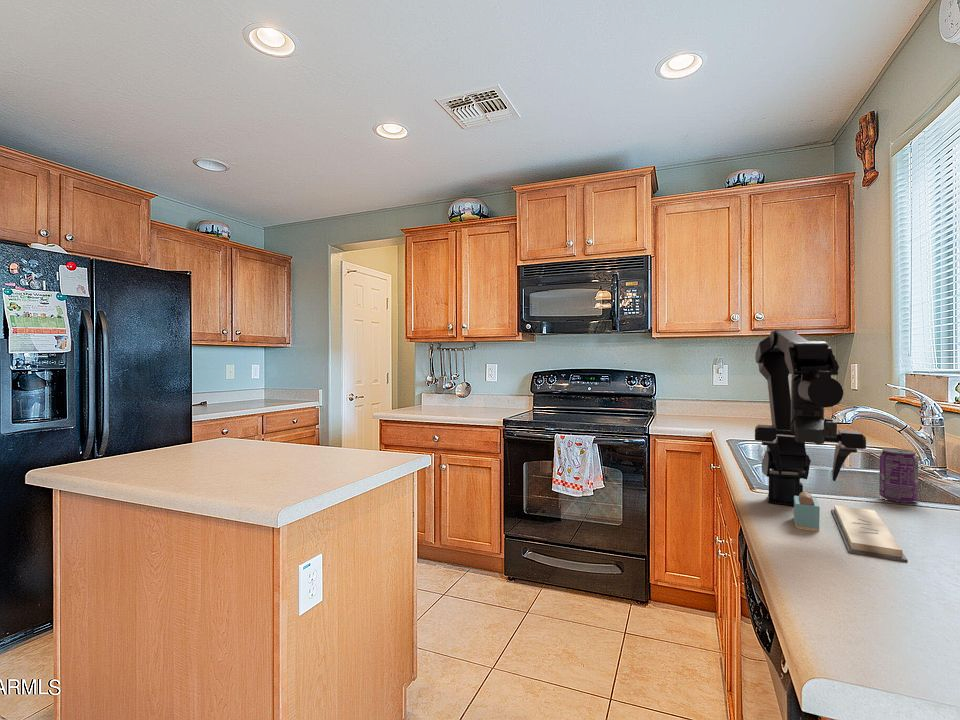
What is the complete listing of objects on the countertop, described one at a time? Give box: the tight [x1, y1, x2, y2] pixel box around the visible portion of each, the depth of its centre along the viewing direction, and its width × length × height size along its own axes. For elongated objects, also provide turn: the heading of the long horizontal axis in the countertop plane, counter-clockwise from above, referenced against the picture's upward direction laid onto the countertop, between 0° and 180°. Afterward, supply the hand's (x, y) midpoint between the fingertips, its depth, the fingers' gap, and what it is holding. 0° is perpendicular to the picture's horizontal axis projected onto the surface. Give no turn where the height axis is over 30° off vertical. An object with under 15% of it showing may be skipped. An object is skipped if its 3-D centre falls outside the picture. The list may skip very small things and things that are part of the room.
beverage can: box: [878, 447, 919, 503], centre depth 119 cm, size 7×7×12 cm
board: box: [831, 504, 908, 563], centre depth 97 cm, size 8×27×2 cm, turn 150°
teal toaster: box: [793, 491, 821, 532], centre depth 101 cm, size 4×7×6 cm, turn 150°
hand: (806, 477), depth 101 cm, fingers open, 9 cm apart
